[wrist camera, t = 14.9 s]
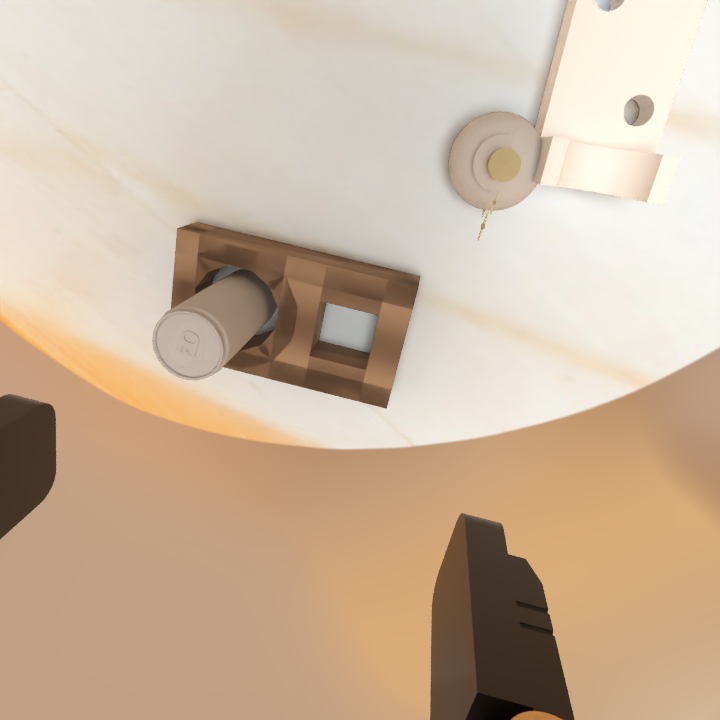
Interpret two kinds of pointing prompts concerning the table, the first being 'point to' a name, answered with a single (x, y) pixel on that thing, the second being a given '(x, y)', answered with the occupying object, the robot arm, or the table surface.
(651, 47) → the bracket
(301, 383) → the walnut bore block
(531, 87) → the table surface
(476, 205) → the round potion bottle
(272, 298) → the beverage can
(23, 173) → the table surface
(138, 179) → the table surface
